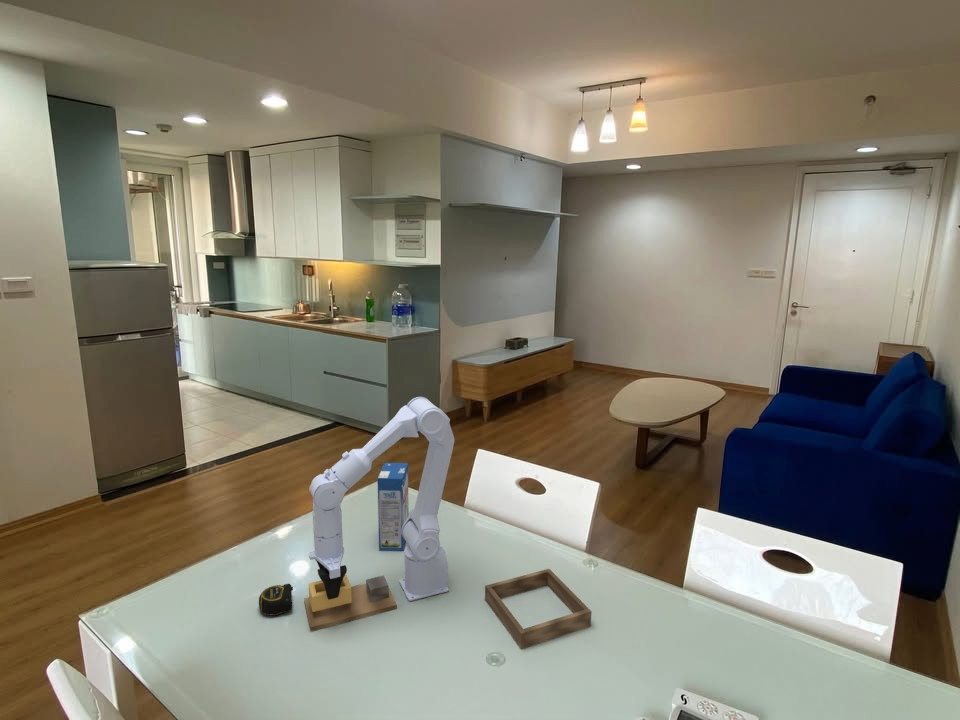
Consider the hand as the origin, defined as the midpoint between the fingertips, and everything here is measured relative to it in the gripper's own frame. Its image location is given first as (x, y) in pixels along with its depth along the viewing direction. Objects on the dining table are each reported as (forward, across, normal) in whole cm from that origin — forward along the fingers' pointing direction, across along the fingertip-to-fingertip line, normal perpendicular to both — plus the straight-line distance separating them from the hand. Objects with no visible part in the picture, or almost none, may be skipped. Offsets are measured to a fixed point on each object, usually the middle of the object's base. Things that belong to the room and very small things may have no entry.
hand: (330, 589), depth 115 cm
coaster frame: (+5, +18, +40) cm, 44 cm away
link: (+2, 0, 0) cm, 2 cm away
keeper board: (+5, 0, +4) cm, 6 cm away
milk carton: (+5, -22, +20) cm, 30 cm away
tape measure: (+5, -6, -10) cm, 13 cm away
